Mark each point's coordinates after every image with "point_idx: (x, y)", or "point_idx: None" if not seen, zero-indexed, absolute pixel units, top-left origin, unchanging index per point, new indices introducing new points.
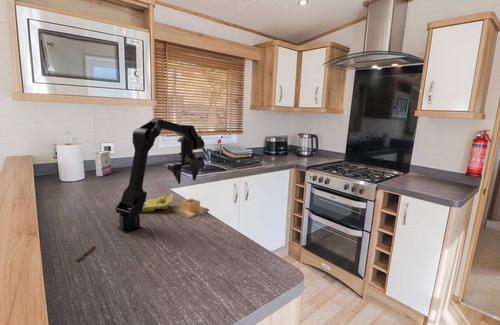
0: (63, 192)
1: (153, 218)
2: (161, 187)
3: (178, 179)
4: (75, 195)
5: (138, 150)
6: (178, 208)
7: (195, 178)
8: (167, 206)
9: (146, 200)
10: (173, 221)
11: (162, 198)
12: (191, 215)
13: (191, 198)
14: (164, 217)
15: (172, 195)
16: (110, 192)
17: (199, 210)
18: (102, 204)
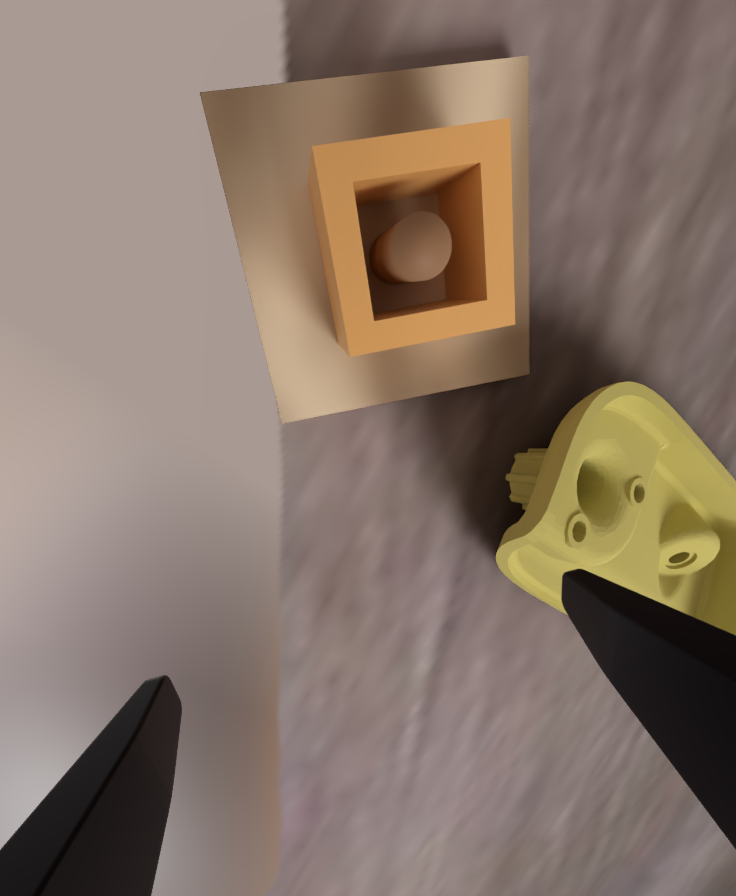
0: (711, 880)
1: (713, 303)
2: (295, 882)
3: (699, 634)
4: (707, 840)
5: None
6: (478, 359)
7: (116, 727)
8: (514, 470)
9: (646, 589)
10: (668, 101)
11: (596, 526)
12: (491, 62)
13: (352, 354)
14: (651, 266)
15: (560, 483)
16: (582, 850)
17: (336, 139)
18: None
